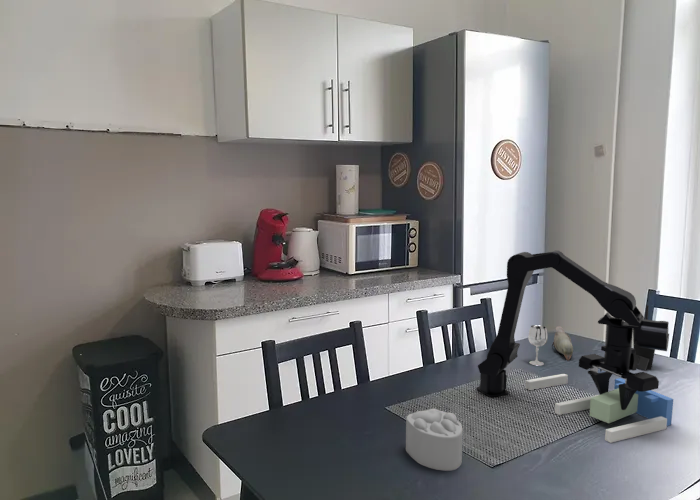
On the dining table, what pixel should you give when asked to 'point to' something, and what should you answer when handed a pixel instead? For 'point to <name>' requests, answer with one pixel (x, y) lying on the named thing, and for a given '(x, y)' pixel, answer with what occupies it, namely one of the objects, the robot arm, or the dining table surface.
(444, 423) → the lumpy-topped squat cylinder
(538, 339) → the wineglass
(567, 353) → the decorative bird
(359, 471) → the dining table surface
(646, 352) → the drinking cup
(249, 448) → the dining table surface
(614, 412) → the plug block
